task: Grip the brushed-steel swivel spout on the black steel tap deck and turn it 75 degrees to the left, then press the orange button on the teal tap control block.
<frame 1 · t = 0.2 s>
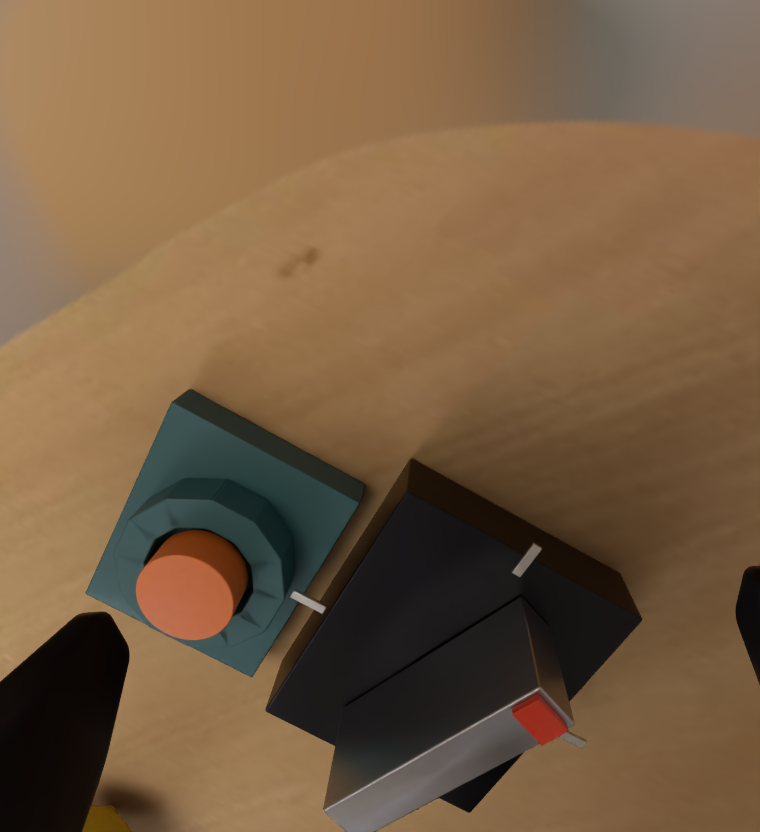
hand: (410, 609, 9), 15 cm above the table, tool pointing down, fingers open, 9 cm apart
lemon: (113, 804, 33), on the table
control block: (228, 529, 26), on the table
button: (193, 584, 23), point 4 cm above the table, slide at 0.1 cm
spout: (441, 717, 22), point 5 cm above the table, hinge at -20.0°
tap deck: (441, 619, 27), on the table
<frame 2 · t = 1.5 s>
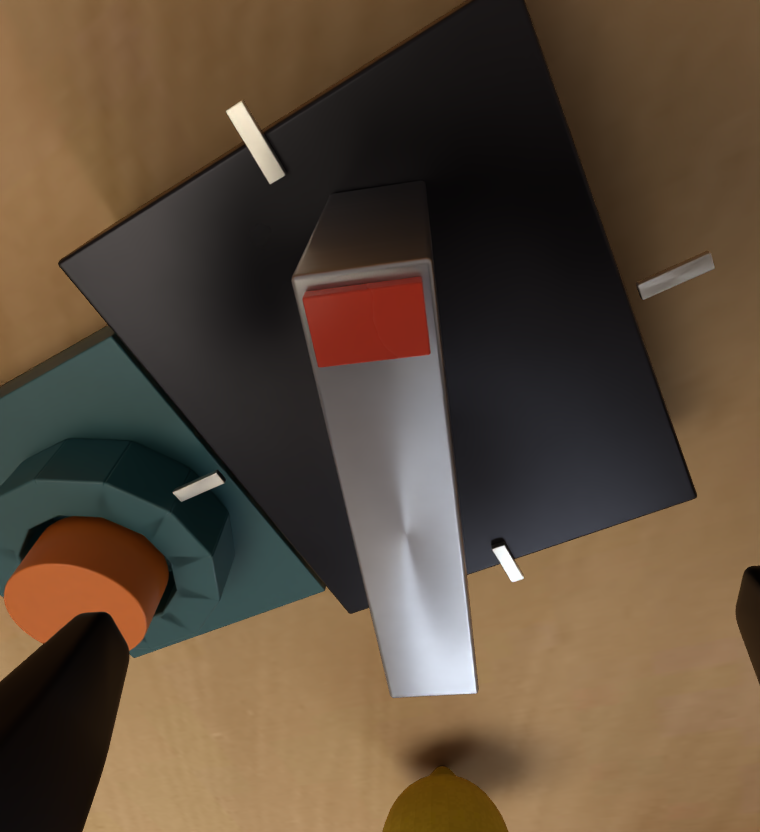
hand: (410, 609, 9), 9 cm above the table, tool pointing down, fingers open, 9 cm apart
lemon: (442, 763, 28), on the table
control block: (145, 491, 20), on the table
button: (90, 587, 16), point 4 cm above the table, slide at 0.1 cm
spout: (406, 456, 12), point 5 cm above the table, hinge at -20.0°
tap deck: (407, 335, 16), on the table
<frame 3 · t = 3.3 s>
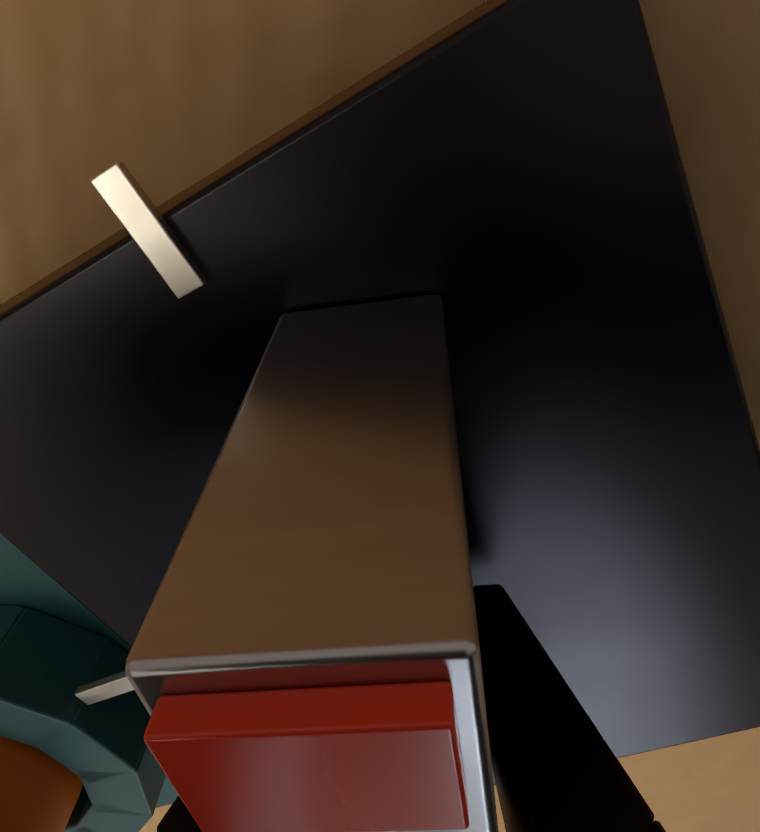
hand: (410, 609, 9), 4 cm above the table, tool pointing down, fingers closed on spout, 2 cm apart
control block: (66, 636, 15), on the table
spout: (409, 741, 7), point 5 cm above the table, hinge at -20.0°, touching gripper
tap deck: (410, 460, 12), on the table
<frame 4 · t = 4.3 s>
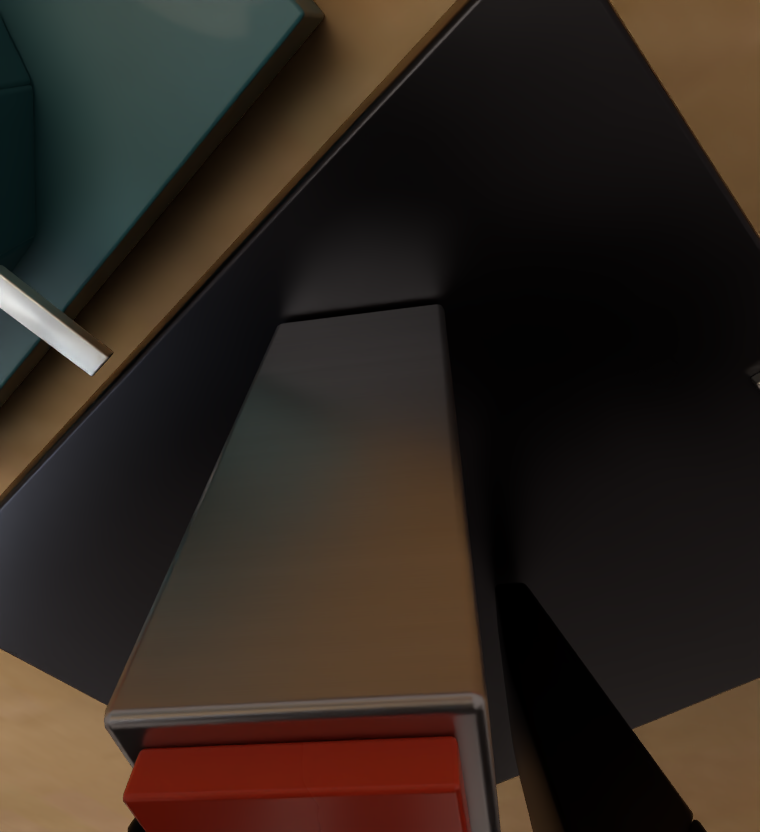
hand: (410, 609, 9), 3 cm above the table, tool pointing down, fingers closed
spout: (410, 765, 7), point 5 cm above the table, hinge at 54.9°
tap deck: (411, 469, 11), on the table
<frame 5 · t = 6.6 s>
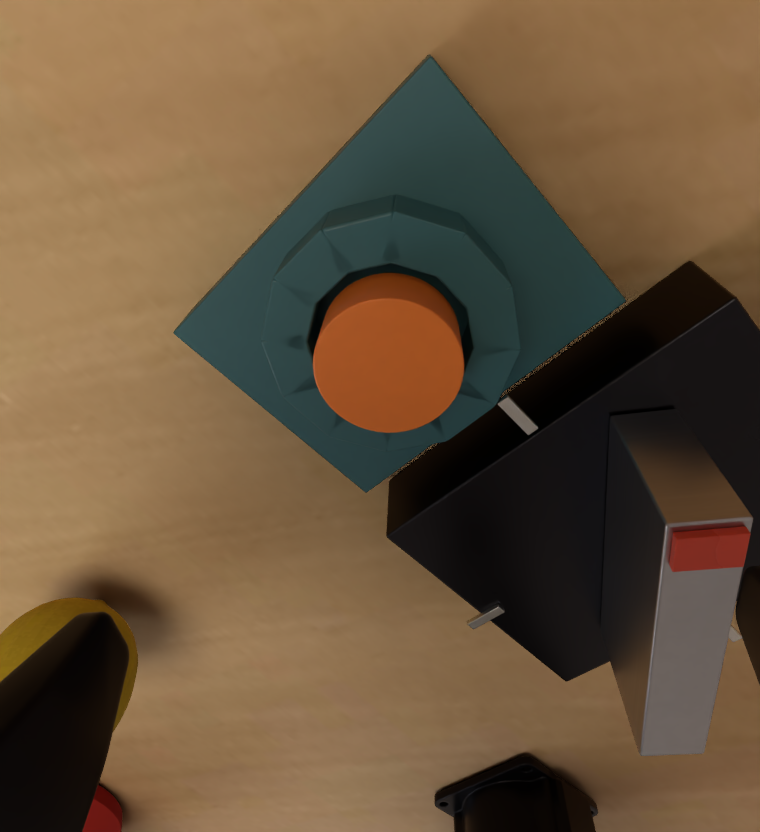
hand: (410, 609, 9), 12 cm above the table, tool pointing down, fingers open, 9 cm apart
lemon: (103, 599, 27), on the table
control block: (393, 295, 19), on the table
button: (389, 353, 15), point 4 cm above the table, slide at 0.1 cm
canned food: (64, 798, 36), on the table
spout: (659, 591, 17), point 5 cm above the table, hinge at 54.9°
tap deck: (607, 473, 22), on the table
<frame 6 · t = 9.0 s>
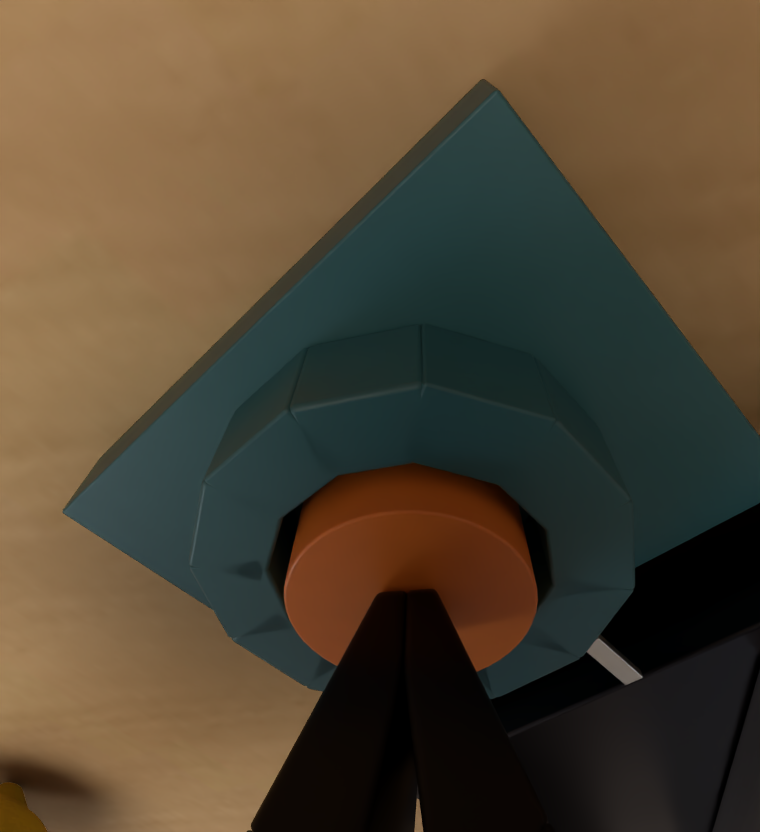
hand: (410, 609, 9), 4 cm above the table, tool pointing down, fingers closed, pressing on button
lemon: (17, 778, 20), on the table
control block: (410, 443, 12), on the table
button: (409, 562, 9), point 3 cm above the table, slide at -0.7 cm, touching gripper
tap deck: (707, 664, 15), on the table
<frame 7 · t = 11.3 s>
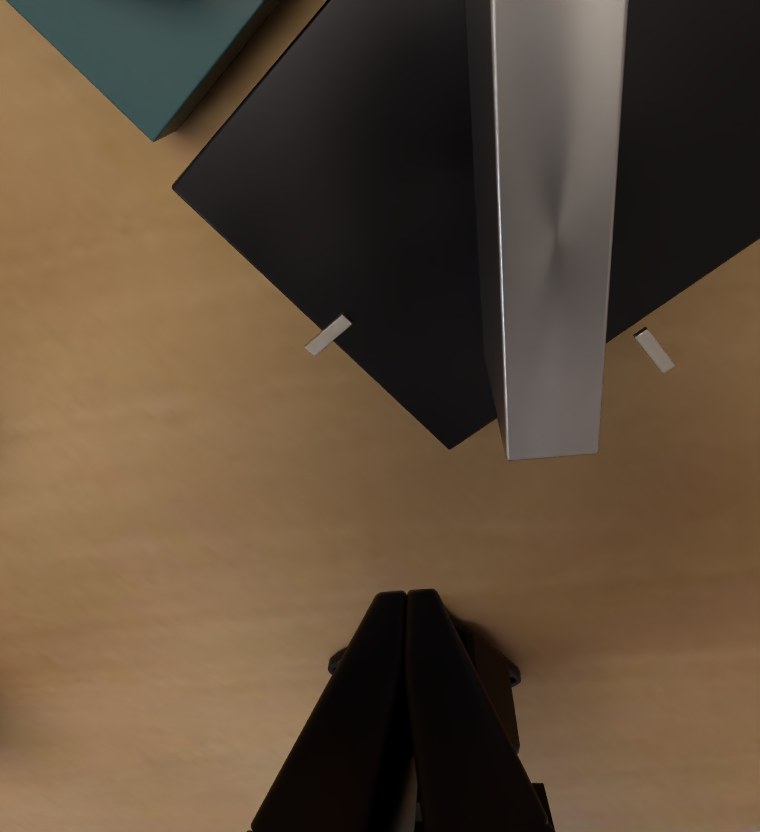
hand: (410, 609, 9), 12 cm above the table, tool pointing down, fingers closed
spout: (533, 198, 11), point 5 cm above the table, hinge at 54.9°
tap deck: (499, 145, 16), on the table
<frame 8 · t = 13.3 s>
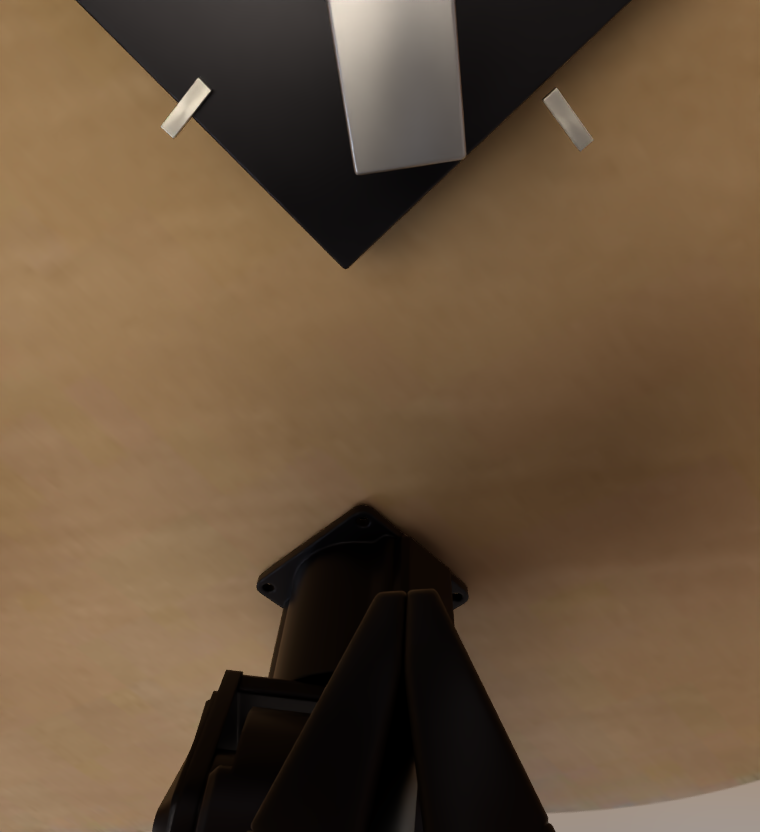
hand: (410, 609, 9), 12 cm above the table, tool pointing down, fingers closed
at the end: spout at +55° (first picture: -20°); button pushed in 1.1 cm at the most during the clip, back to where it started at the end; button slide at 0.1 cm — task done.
